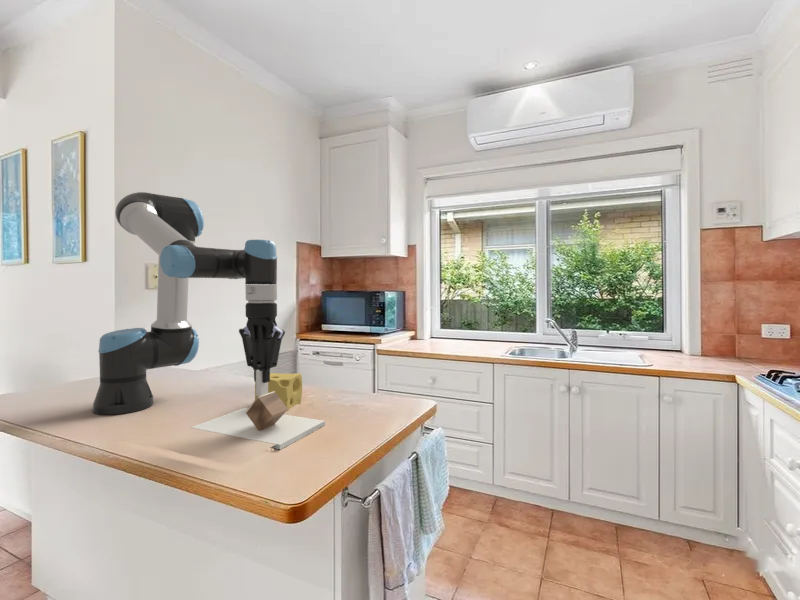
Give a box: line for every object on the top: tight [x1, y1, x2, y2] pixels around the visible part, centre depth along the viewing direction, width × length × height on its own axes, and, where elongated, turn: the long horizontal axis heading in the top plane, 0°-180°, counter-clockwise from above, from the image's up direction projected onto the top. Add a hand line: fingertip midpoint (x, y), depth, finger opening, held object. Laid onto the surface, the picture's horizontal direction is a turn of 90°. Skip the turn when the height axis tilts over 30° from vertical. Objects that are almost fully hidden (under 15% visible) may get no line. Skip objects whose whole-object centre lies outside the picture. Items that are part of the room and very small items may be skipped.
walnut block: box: [245, 391, 289, 431], centre depth 105 cm, size 6×6×6 cm
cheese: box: [254, 372, 303, 412], centre depth 125 cm, size 10×11×10 cm
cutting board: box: [190, 407, 326, 450], centre depth 107 cm, size 28×18×1 cm, turn 67°
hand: (262, 394), depth 105 cm, fingers closed
